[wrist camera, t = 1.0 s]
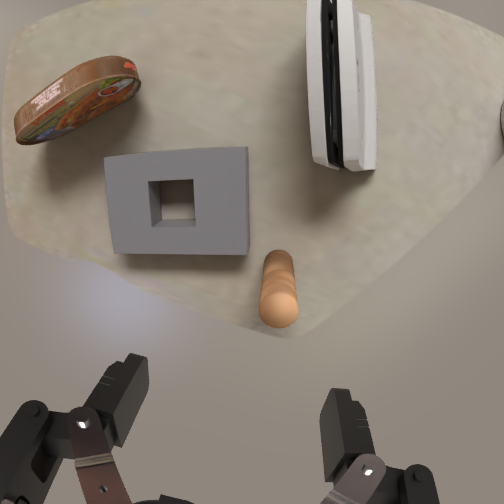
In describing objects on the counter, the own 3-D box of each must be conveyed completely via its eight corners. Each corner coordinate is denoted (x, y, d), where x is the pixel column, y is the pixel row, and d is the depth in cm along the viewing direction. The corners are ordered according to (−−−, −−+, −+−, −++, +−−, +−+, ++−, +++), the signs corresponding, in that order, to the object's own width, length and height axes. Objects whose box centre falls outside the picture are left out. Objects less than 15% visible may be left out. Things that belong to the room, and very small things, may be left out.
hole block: (248, 146, 29) (245, 147, 27) (249, 244, 33) (246, 255, 30) (117, 155, 30) (103, 157, 28) (125, 244, 34) (114, 253, 31)
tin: (49, 144, 30) (2, 151, 23) (44, 122, 29) (-4, 124, 22) (154, 87, 28) (117, 74, 20) (147, 62, 27) (109, 43, 19)
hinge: (376, 172, 29) (371, 182, 21) (330, 168, 31) (306, 177, 22) (371, 19, 24) (360, -26, 15) (326, 19, 25) (300, -23, 17)
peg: (293, 250, 33) (299, 294, 23) (292, 276, 34) (297, 328, 24) (264, 249, 33) (259, 294, 23) (264, 276, 34) (259, 327, 24)
